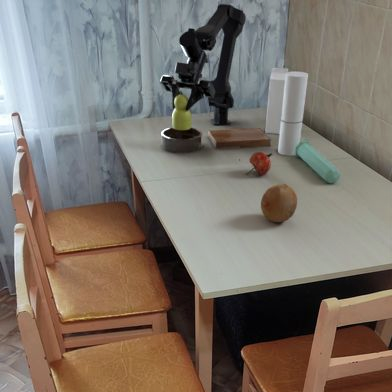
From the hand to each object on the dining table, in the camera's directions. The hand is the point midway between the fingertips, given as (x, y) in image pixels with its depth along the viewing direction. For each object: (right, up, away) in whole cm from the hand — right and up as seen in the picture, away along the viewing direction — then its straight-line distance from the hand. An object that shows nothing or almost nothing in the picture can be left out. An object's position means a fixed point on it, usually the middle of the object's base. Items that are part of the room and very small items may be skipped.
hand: (179, 109), depth 184 cm
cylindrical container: (+38, -12, +6) cm, 40 cm away
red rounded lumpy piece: (+26, -25, -10) cm, 37 cm away
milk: (+36, +2, +24) cm, 43 cm away
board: (+21, -6, +14) cm, 26 cm away
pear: (+1, -4, +5) cm, 6 cm away
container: (+45, -23, -7) cm, 51 cm away
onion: (+28, -46, -35) cm, 65 cm away
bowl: (+1, -10, +9) cm, 13 cm away
